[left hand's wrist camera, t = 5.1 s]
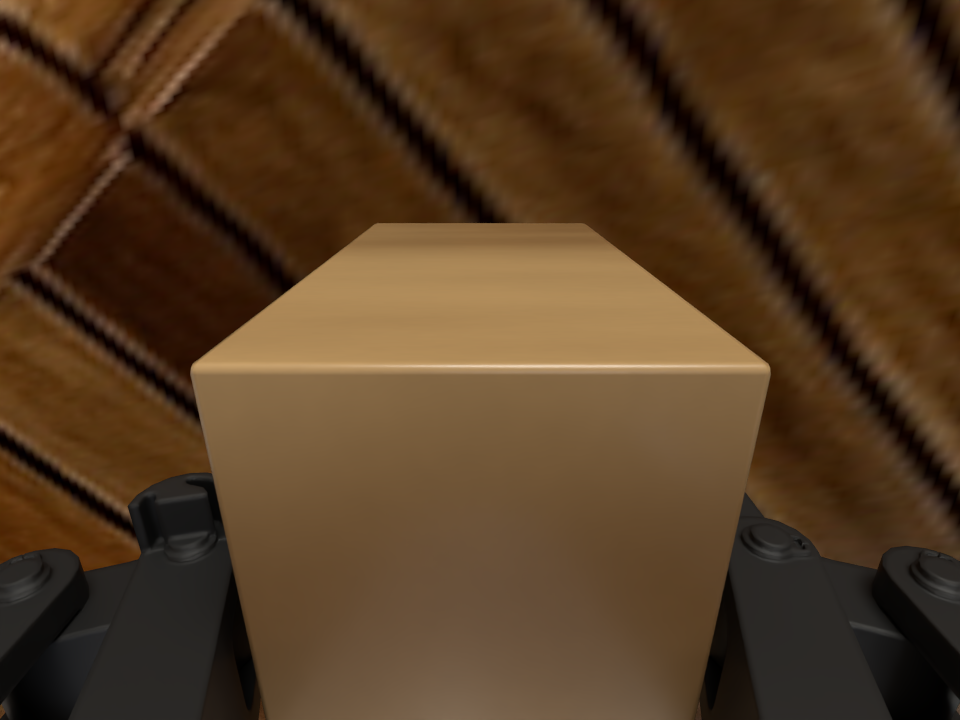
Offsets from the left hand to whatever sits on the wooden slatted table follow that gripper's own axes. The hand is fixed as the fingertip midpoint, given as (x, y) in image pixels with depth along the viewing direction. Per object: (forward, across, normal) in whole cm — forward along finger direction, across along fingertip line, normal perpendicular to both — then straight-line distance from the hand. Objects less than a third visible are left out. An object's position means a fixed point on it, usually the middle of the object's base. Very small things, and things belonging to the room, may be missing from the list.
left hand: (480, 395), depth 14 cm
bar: (+1, 0, -8) cm, 8 cm away
